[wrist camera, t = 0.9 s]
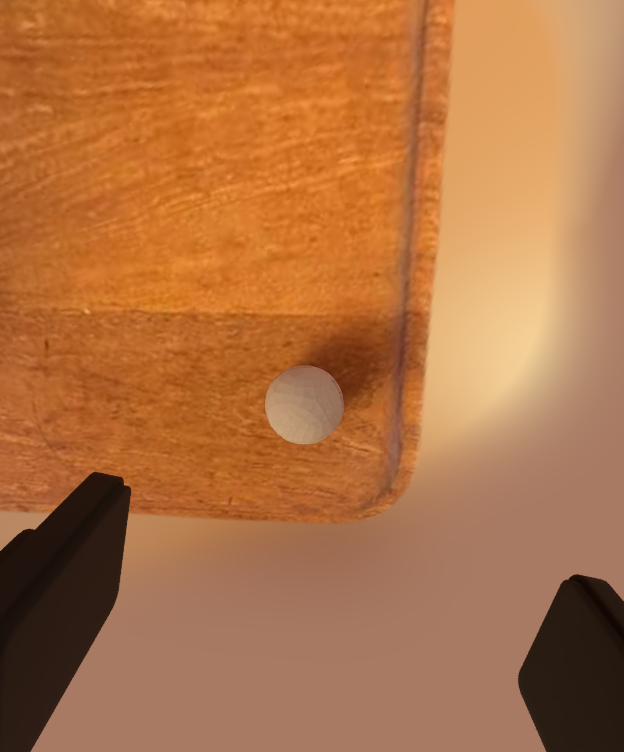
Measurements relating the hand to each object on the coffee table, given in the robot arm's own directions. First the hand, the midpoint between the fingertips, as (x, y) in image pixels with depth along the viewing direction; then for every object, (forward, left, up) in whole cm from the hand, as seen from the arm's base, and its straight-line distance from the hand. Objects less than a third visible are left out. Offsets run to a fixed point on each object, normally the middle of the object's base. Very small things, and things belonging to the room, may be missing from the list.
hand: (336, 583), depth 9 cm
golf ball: (+1, +1, -16) cm, 16 cm away
